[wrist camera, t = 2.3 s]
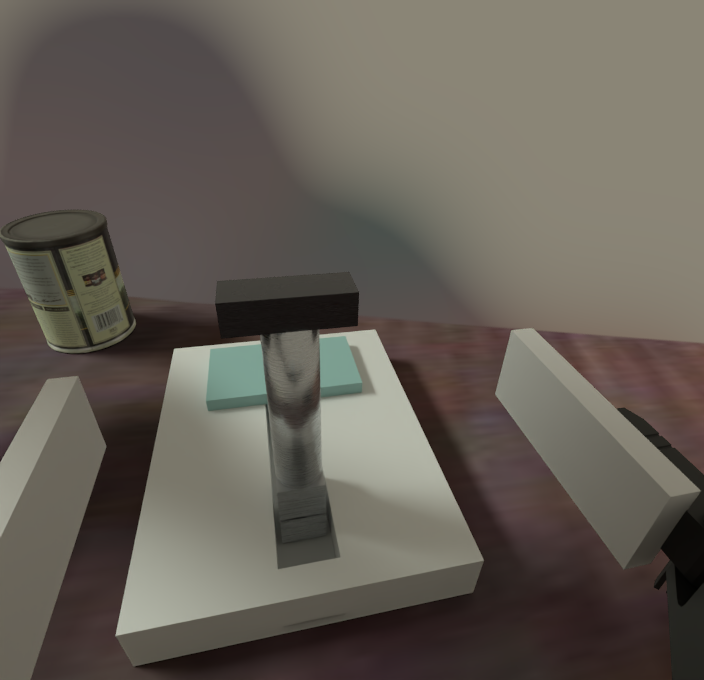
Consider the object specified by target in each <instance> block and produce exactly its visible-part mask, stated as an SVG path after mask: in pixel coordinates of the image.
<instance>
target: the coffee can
mask: <svg viewBox="0 0 704 680" xmlns="http://www.w3.org/2000/svg"><path fill="white" fill-rule="evenodd" d="M0 238H1V240H2V241H3V242H4V244H5V246H6V249H7V251H8V253H9V255H10V258H11V260H12V262H13V264H14V266H15V269H16V271H17V273H18V276H19V278H20V280H21V282H22V285H23V287H24V289H25V291H26V294H27V296H28V298H29V300H30V303H31V305H32V307H33V310H34V312H35V314H36V316H37V319H38V321H39V323H40V325H41V328H42V330H43V332H44V334H45V337H46V339H47V344H48V345H49V346H50V347H51V348H52V349H54V350H56V351H59V352H63V353H87V352H91V351H97V350H101V349H104V348H107V347H109V346H111V345H114V344H116V343H118V342H120V341H121V340H123V339H124V338H126V337H127V336H128V335H129V334H131V333H132V331H133V330H134V328H135V325H136V320H135V318H134V316H133V313H132V309H131V306H130V302H129V299H128V296H127V292H126V289H125V286H124V283H123V279H122V276H121V273H120V269H119V266H118V263H117V259H116V255H115V252H114V249H113V246H112V242H111V239H110V235H109V232H108V229H107V220H106V217H105V216H104V215H102V214H101V213H98V212H94V211H88V210H59V211H51V212H44V213H39V214H35V215H31V216H27V217H23V218H20V219H17V220H15V221H13V222H10V223H8V224H7V225H5V226H3V227H2V228H1V229H0Z"/></svg>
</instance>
